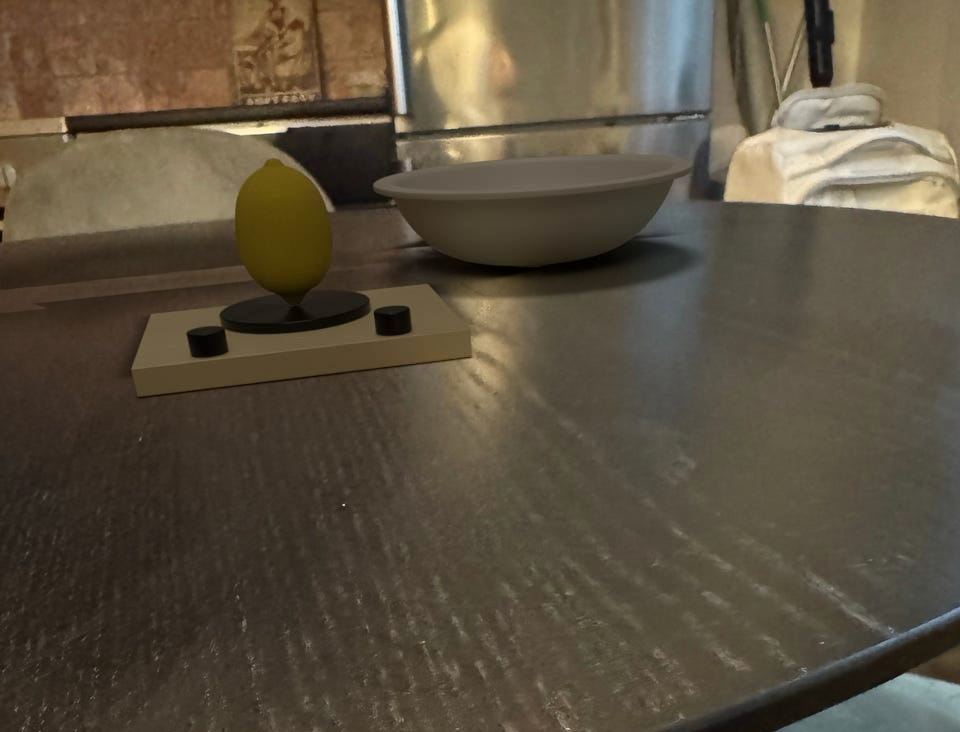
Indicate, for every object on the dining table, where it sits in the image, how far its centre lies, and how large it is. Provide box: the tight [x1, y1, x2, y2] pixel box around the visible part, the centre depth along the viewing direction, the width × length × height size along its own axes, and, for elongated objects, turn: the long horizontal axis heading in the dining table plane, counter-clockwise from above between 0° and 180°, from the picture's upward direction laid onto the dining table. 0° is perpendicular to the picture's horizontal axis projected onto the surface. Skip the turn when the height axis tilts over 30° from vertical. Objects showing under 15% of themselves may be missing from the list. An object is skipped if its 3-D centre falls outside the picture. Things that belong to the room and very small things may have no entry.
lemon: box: [234, 157, 334, 305], centre depth 57 cm, size 6×6×8 cm
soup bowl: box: [372, 153, 694, 268], centre depth 76 cm, size 24×24×7 cm
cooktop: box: [130, 283, 473, 398], centre depth 58 cm, size 14×18×3 cm
